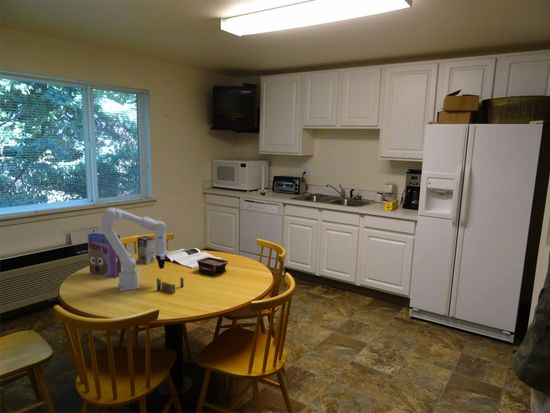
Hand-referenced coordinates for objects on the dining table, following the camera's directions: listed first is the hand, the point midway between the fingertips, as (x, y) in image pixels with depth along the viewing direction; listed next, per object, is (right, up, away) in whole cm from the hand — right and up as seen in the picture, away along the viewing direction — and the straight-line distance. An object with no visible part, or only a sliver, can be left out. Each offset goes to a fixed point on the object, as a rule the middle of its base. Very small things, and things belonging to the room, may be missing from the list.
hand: (161, 268), depth 204 cm
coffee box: (-21, -3, +39) cm, 44 cm away
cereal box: (-37, -6, +15) cm, 40 cm away
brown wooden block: (+6, -11, -7) cm, 14 cm away
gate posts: (+6, -10, -3) cm, 12 cm away
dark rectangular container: (+24, -6, +24) cm, 34 cm away
